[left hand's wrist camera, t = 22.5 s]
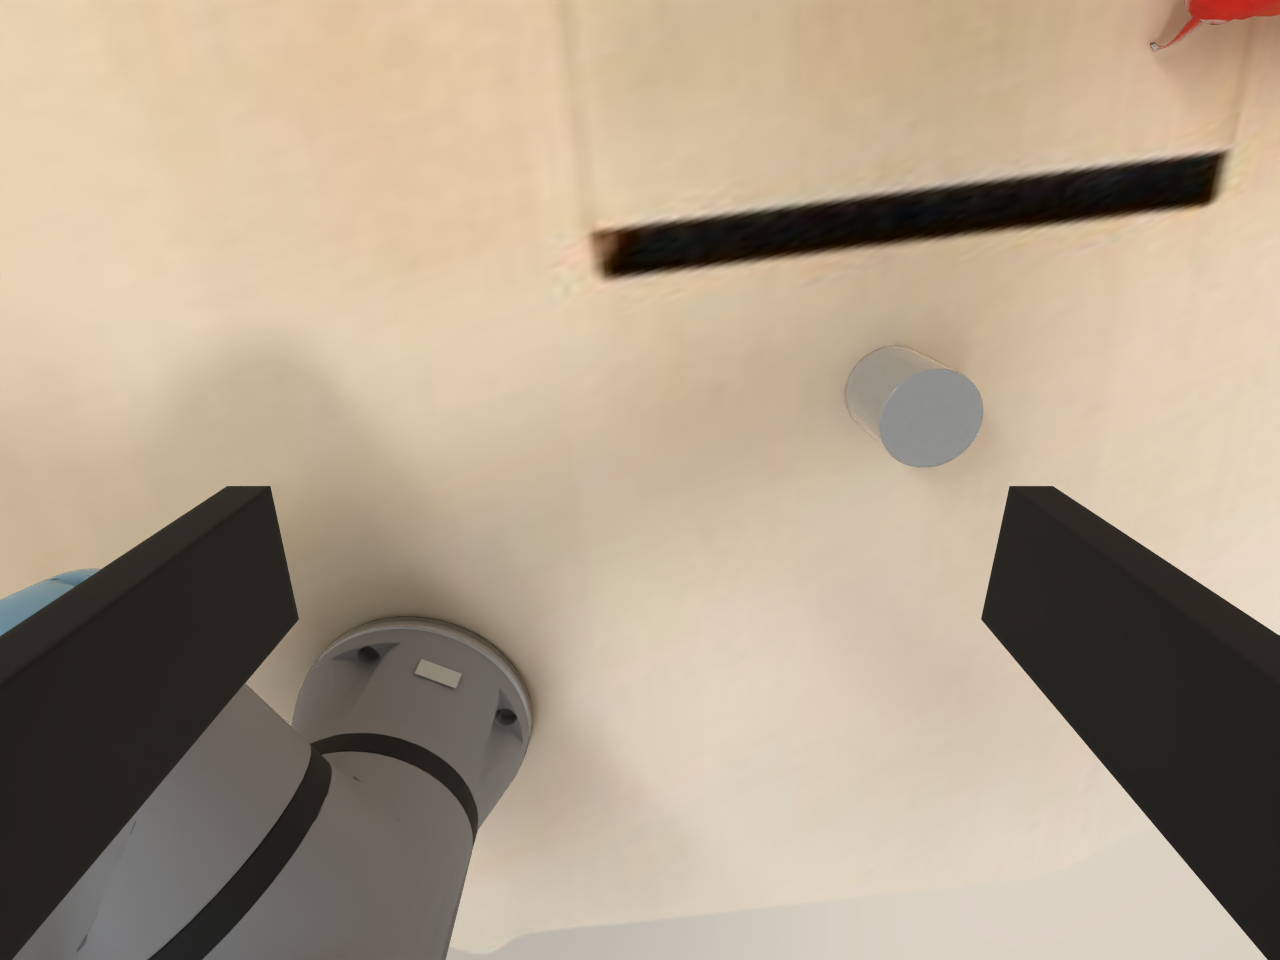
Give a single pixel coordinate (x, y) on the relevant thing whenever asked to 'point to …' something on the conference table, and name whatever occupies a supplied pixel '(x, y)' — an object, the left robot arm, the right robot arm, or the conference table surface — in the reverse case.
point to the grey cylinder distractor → (914, 406)
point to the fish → (1221, 14)
